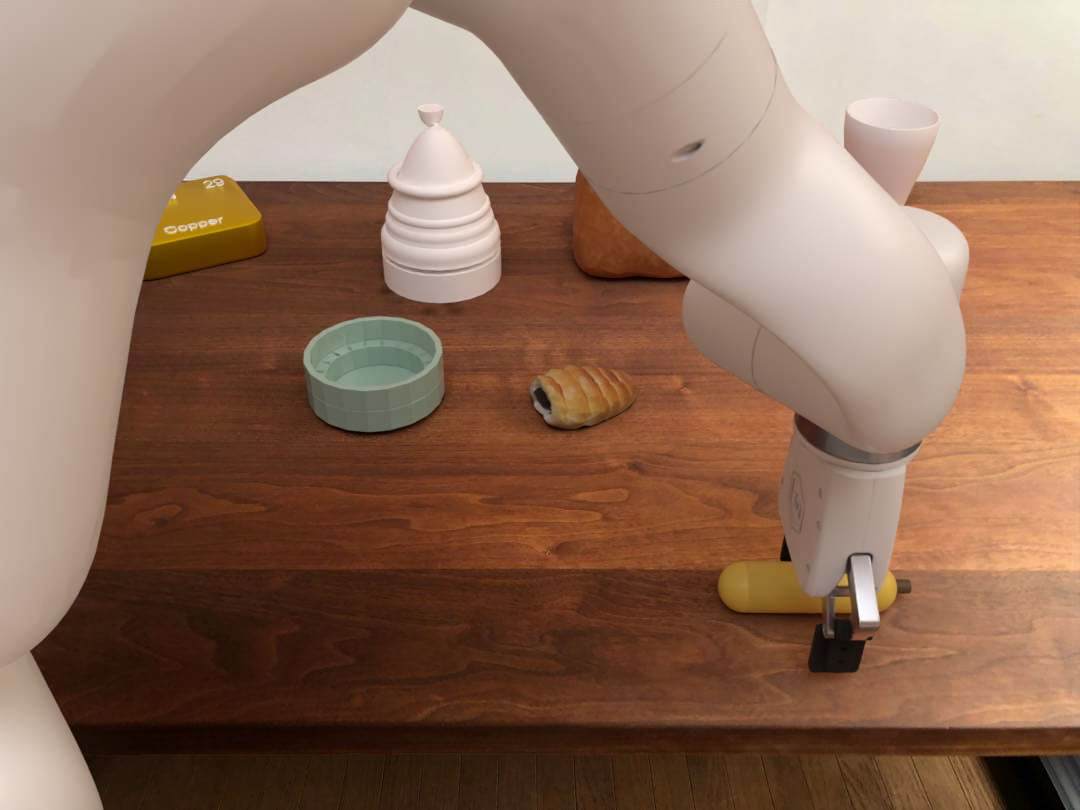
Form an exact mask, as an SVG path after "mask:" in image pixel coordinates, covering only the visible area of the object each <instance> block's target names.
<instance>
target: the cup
mask: <svg viewBox="0 0 1080 810" xmlns="http://www.w3.org/2000/svg"><path fill="white" fill-rule="evenodd" d="M844 112H845V113H844V124H843V147H844V148H845V149H846V150H847V151H848V152H849V153H850V154H851V156H852V157H853V158H854V159H855V160H856V161H857V162H858V163H859V164H860V165H861V166H862V167H863V168H864V169H865V171H866V172H867V173H868V174H869V175H870V176H871V177H872V178H873V179H874V180H875V181H876V182H877V183H878V184H879V185H880V186H881V187H882V188H883V189H884V190H885V191H886V192H887V193H888V194H889V195H890V196H891V197H892V198H893V199H894V200H895V201H896V202H897V203H898V204H899V205H903V206H905V204H906V202H907V201H908V198H909V195H910V193H912V192H911V191H912V190H913V188H914V186H915V184H916V182H917V181H918V179H919V176H920V175H921V173H922V171H923V169H924V168H925V167H924V166H926V163H927V160H928V158H929V155H930V153H931V152H932V149H933V146H934V144H935V141H936V138H937V136H938V132H939V130H940V125H941V123H942V117H941V114H940V113H939V112H938V111H937V110H936V109H934V108H932V107H930V106H928V105H926V104H922V103H919V102H917V101H912V100H908V99H902V98H894V97H869V98H863V99H862V98H861V99H859V100H855V101H853V102H851V103H850V104H848V105H847V106H846V108H845V111H844Z"/></svg>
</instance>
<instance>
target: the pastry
mask: <svg viewBox="0 0 1080 810" xmlns="http://www.w3.org/2000/svg"><path fill="white" fill-rule="evenodd" d="M529 395H530V397H531V398H532V402H533V407H534V408H535V410H536V411H537V412H538V413H539V414H540V415H542V416H543V420H544V421H545V422H546V424H548V425H550V426H553V427H556V428H560V429H564V430H578V429H579V428H581V427H583V426H588V427H590V426H591V427H592V426H594V425H597V424H599V423H601V422H602V421H608V420H609V419H610V418H612V417H613V418H614V417H615V416H618V415H619V414H621V413H622V412H624V411H625V410H627V409H628V408H629V407H630V406H631V404H633V403H634V401H635V399H636V396H637V392H636V386H635V384H634V382H633V380H632V377H631V375H630V374H629V373H627V372H624V371H621V370H619V369H616V368H605V367H604V366H597V367H592V366H589V365H588V364H586V365H583V366H580V367H578V366H576V365H574V364H568V365H566V366H565V367H564V368H563V369H562V368H555V367H551V368H550V369H549V370H547V372H546V373H545V374H544V375H542V374H540V375H537V376H536V378H535V380H534V381H533V382H532V383H531V385H530V387H529Z"/></svg>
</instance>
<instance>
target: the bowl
mask: <svg viewBox="0 0 1080 810" xmlns="http://www.w3.org/2000/svg"><path fill="white" fill-rule="evenodd" d="M302 365H303V371H304V377H305V378H304V379H305V383H306V385H305V386H306V392H307V397H308V404H309V406H310V407H311V409H312V411H313V412H314V415H316V416H317V417H318V418H320V419H321V420H322V421H324V422H325V423H326V424H328V425H330V426H333V427H337V428H339V429H342V430H345V431H353V432H363V433H376V432H386V431H393V430H396V429H399V428H403V427H406V426H410V425H413V424H415V423H416V422H418V421H421V420H423V419H424V418H426V417H428V416H429V415H430V414H431V413H432V412H433V411H435V409H437V407H438V406H439V405H440V404H441V402H442V399H443V397H444V395H445V392H446V389H445V387H446V385H445V371H444V369H445V367H444V352H443V345H442V340H441V339H440V337H439V336H438V335H437V334H436V333H435V331H433V330H432V329H431V328H429V327H427V326H425V325H424V324H422V323H420V322H418V321H414V320H412V319H407V318H404V317H396V316H386V315H385V316H384V315H378V316H377V315H376V316H365V317H357V318H354V319H349V320H345V321H341V322H339V323H336V324H334V325H332V326H330V327H327V328H325V329H323V330H321V331H320V332H319V333H318V334H317V335H315V336H314V337H312V338H311V339H310V341H309V343H308V344H307V345H306V347H305V349H304V350H303V362H302Z"/></svg>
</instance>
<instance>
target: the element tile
mask: <svg viewBox="0 0 1080 810" xmlns="http://www.w3.org/2000/svg"><path fill="white" fill-rule="evenodd" d="M263 221H264V220H263V216H262V213H261V212H260V211H259V209H258V208H257V206H255V205H254V203H253V202H252V201H251V200H250V198H249V197H248V195H246V193H245V191H243V189H242V188H241V187H240V186H239V184H238V183H237V182H236V180H235V179H234V178H232V177H230V176H228V175H225V174H219V175H213V176H208V177H207V176H206V177H202V178H198V179H197V178H196V179H192V180H187V181H182V183H181V184H180V185H179V187H178V188H177V190H176V191H175V193H174V194H173V195H172V197H171V199H170V200H169V202H168V204H167V207H166V209H165V211H164V213H163V215H162V218H161V220H160V222H159V224H158V227H157V230H156V233H155V236H154V239H153V243H152V246H151V249H150V252H149V256H148V260H147V264H146V269H145V273H144V277H143V281H153V280H159V279H163V278H167V277H172V276H176V275H180V274H185V273H190V272H194V271H199V270H203V269H209V268H213V267H216V266H221V265H225V264H229V263H234V262H238V261H243V260H248V259H253V258H255V257H258V256H260V255H262V254H263V253H264V252H265V251H266V250H267V246H268V245H267V240H266V234H265V233H266V232H265V227H264V226H265V225H264V222H263Z"/></svg>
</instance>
